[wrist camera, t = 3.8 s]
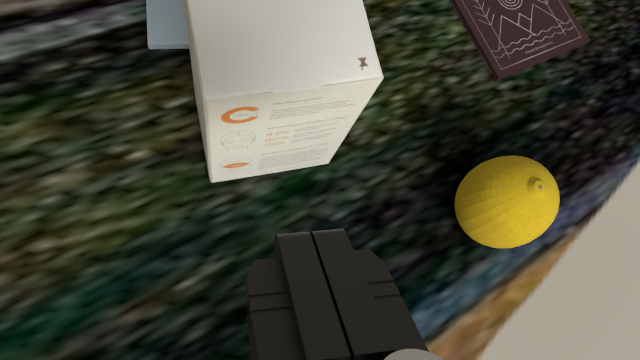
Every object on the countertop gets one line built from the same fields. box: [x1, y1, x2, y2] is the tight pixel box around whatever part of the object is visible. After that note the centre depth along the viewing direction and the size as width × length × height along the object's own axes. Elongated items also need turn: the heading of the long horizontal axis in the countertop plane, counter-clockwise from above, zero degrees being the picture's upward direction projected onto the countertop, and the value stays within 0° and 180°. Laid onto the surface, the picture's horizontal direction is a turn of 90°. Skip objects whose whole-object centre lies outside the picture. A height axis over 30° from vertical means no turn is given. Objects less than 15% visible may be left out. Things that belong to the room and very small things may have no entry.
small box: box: [184, 0, 383, 182], centre depth 30 cm, size 8×6×13 cm
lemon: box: [454, 156, 560, 248], centre depth 33 cm, size 6×6×8 cm
